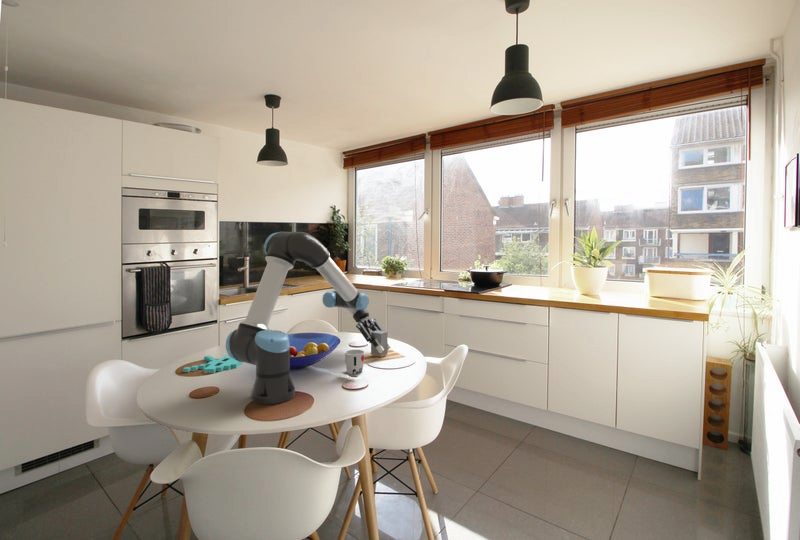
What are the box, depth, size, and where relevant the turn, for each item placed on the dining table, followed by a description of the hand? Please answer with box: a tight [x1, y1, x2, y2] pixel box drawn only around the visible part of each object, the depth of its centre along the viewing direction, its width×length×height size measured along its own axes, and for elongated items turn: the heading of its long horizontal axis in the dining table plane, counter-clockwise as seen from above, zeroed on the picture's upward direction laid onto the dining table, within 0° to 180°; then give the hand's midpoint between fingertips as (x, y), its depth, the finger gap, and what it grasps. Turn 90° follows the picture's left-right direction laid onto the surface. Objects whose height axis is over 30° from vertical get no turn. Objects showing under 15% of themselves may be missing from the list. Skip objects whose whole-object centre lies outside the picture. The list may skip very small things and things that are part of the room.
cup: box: [344, 349, 365, 378], centre depth 169 cm, size 8×8×10 cm
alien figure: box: [182, 354, 243, 374], centre depth 182 cm, size 20×2×20 cm
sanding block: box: [370, 330, 388, 357], centre depth 193 cm, size 6×5×11 cm
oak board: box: [363, 349, 406, 365], centre depth 192 cm, size 14×24×2 cm, turn 121°
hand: (385, 350), depth 191 cm, fingers closed on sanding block, 5 cm apart
